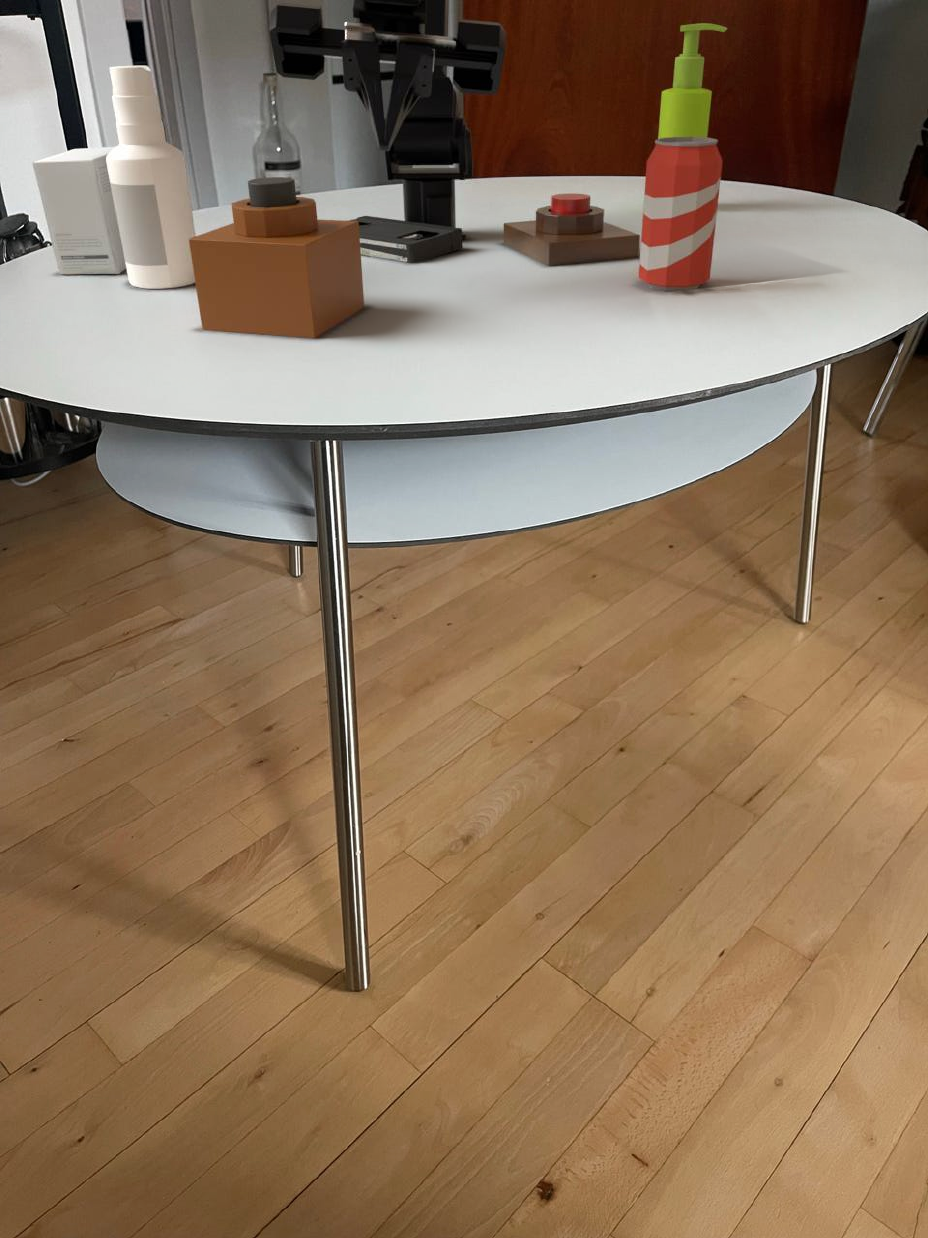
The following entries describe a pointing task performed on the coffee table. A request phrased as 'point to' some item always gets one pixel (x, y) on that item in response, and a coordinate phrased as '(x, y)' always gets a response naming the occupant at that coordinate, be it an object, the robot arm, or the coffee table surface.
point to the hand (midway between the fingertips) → (383, 147)
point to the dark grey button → (272, 192)
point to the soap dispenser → (687, 90)
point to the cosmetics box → (81, 211)
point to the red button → (570, 203)
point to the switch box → (571, 238)
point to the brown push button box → (278, 271)
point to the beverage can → (680, 213)
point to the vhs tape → (406, 239)
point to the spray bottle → (149, 187)
